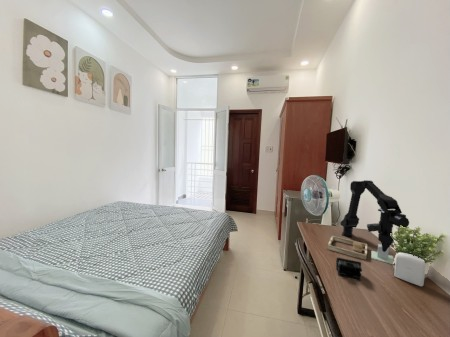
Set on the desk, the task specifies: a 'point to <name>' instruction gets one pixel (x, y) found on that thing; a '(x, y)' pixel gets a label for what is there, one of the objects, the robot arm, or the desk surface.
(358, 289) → the desk surface
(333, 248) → the corral
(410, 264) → the photo printer
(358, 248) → the oak cube
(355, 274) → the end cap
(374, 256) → the pad
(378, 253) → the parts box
